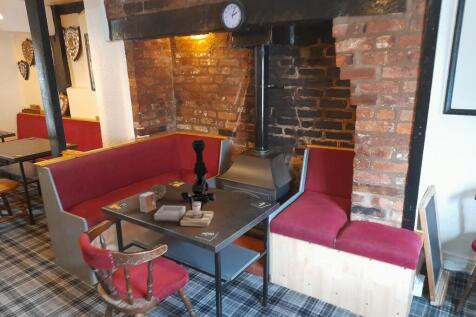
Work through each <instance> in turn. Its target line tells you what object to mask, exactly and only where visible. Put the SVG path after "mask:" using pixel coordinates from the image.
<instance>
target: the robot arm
mask: <svg viewBox="0 0 476 317" xmlns="http://www.w3.org/2000/svg"><path fill="white" fill-rule="evenodd" d="M191 148H192V149H193V152H194V153H195V159H196V160H195V161H196V162H195V163H194V167H193V175H195V179H194V180H195V181H194V182H193V183H194V184H192V185H191V192H192V193H190V192H189V191H182V192H181V193H180V194H181V195H180V197H181V198H182V199H183V201H188V202H189V206H190V211H192V202H195V201H200V202H201V211H203V209H204V208H205V206H206V204H208V203H209V202H215V201H216V195H215V193H214V192H209V184H208V182H207V177H206V176H207V174H208V173H209V170H208V168H207V166H206V163H205V162H204V158H203V152H204V151H205V148H206V141H204V139H194V140H193V141H191ZM194 198H195V199H194ZM194 200H195V201H194Z"/></svg>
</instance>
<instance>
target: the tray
mask: <svg viewBox="0 0 476 317" xmlns="http://www.w3.org/2000/svg"><path fill="white" fill-rule="evenodd" d="M186 213H187V211H186V206H185V205H165V204H164V205H162V206H160V207H159V209H158V210H157V211H156V212H155V213H154V215H153V218H154V221H157V222H159V221H160V222H179V221H181V220H182V218H183V217H184V216H185V214H186Z"/></svg>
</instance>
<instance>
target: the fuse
mask: <svg viewBox="0 0 476 317" xmlns="http://www.w3.org/2000/svg"><path fill="white" fill-rule="evenodd" d="M201 204H202V201H197V200H195V201H194V202H192V210H191V211H193V219H202V211H203V210H202V211H201Z"/></svg>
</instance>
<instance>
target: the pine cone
mask: <svg viewBox="0 0 476 317" xmlns="http://www.w3.org/2000/svg"><path fill="white" fill-rule="evenodd" d="M148 191H149V192H153V193H155V201H156V202H157V201H158V200H161V199H162V197H164V195H165V194H166V192H167V187H166V186H165V185H164V184H155V185H153V186H151V188H150V190H148ZM138 200H139V197H138Z"/></svg>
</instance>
